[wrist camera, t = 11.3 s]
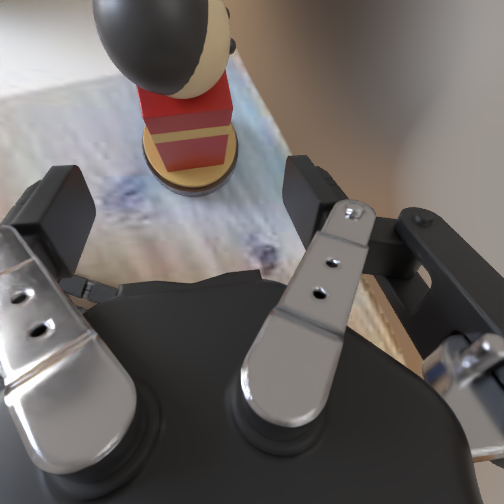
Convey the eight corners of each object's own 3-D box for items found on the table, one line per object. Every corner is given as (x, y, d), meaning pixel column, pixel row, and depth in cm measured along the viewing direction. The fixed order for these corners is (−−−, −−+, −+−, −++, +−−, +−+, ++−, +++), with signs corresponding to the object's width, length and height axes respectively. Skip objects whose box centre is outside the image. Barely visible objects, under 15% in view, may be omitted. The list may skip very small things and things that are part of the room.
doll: (154, 194, 22) (66, 85, 9) (136, 104, 22) (19, -150, 9) (243, 180, 24) (292, 65, 10) (226, 95, 24) (252, -141, 10)
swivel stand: (132, 122, 24) (127, 113, 23) (218, 98, 25) (219, 87, 24) (165, 208, 24) (162, 205, 23) (249, 180, 26) (251, 175, 24)
